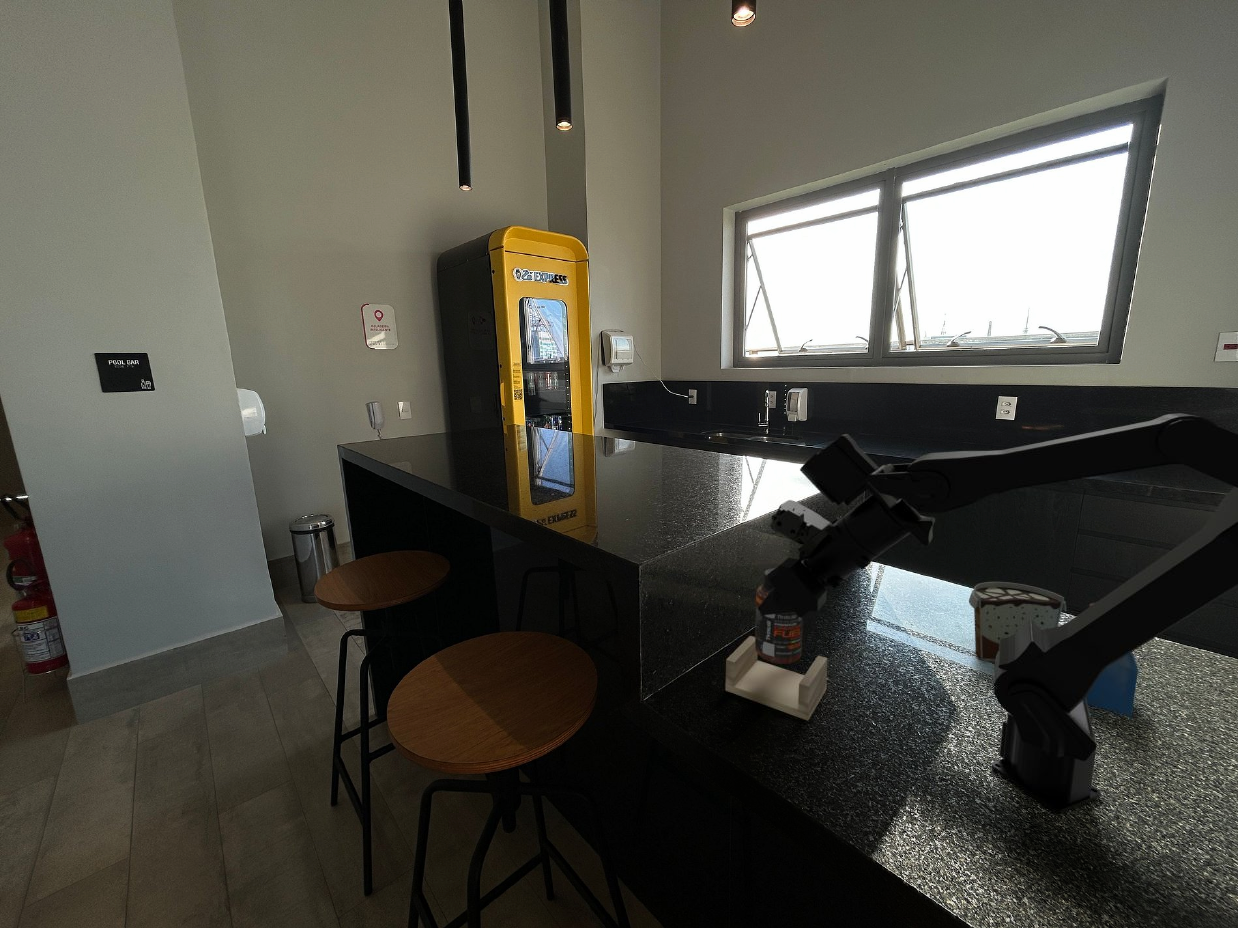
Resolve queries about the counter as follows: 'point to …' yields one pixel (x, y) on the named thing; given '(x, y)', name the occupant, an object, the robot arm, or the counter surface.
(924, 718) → the counter surface
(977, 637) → the food container
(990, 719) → the counter surface
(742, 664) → the cradle
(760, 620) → the supplement bottle
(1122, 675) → the perfume bottle
